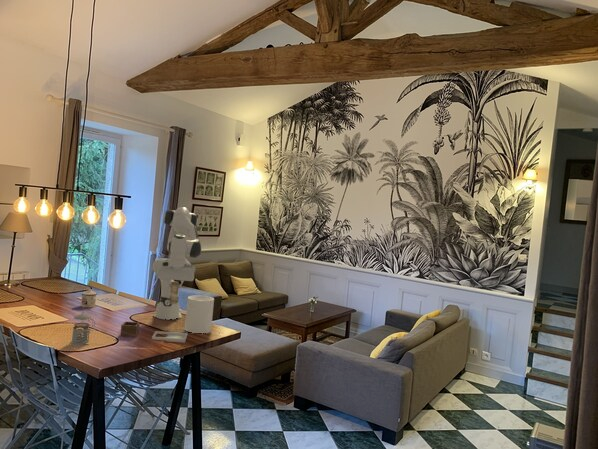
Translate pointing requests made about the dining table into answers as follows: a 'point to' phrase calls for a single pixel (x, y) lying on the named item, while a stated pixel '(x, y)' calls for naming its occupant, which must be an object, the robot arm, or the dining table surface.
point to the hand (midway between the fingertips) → (174, 287)
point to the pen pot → (129, 329)
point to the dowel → (174, 292)
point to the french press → (81, 330)
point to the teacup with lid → (88, 299)
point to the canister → (199, 314)
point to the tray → (171, 336)
